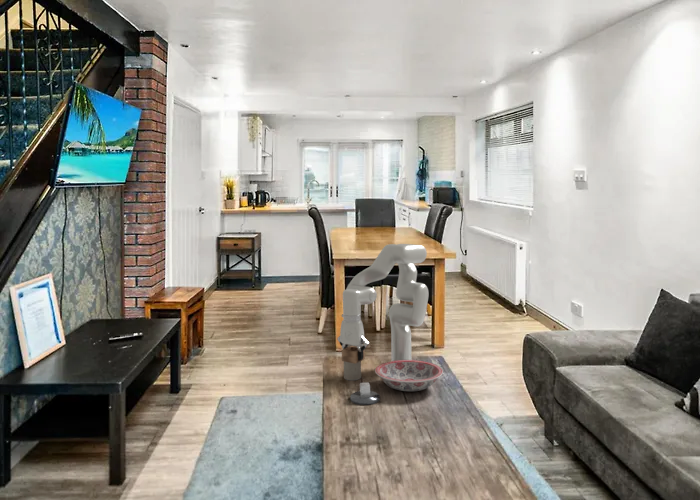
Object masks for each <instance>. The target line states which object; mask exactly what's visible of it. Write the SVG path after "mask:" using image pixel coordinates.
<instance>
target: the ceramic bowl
mask: <svg viewBox="0 0 700 500" xmlns="http://www.w3.org/2000/svg"><path fill="white" fill-rule="evenodd" d="M374 369H375V370H374V372H375V374H376V375H377V376H378V377H379V378H380V379H381V380H382V381H383V382H384V383H385V384H386V386H388V387H390V388H391V389H393V390H397V391H402V392H418V391H419V392H420V391H423V390H425V389H428V388H429V387H431V386H432V385H433V384H434V383H435V382H436V381H437V380H438V378H440V377H442V376H443V374H444V370H443V369H442V368H441V367H440V365H438V364H435V363H432V362H427V361H424V360H423V361H422V360H414V359H411V360H398V361H392V360H390V361H386V362H384V363H383V362H382V363H381V364H379V365H377V366H376V367H375V368H374Z"/></svg>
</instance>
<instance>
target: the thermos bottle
mask: <svg viewBox="0 0 700 500" xmlns="http://www.w3.org/2000/svg"><path fill="white" fill-rule="evenodd" d="M349 346H352V345H348V347H349ZM356 347H357V346H356ZM343 378H344V380H346V381H357V380H360V379H362V361H360V362H358V363H356V364H354V363H349V362H345V361H343Z"/></svg>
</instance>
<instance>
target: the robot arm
mask: <svg viewBox="0 0 700 500" xmlns="http://www.w3.org/2000/svg"><path fill="white" fill-rule="evenodd" d="M427 255H428V253H427V249H426V247H425V246H423V245H422V244H413V243H412V244H411V243H397V244H395V243H392V244H391V243H390V244H389V243H388V244H386V245H385V246H383V248H382V250H380V252H379V253H378V255H377V257H376V258H375V259H374V261H373V262H372V264H371V265H370V266H369V267H367V268H365V269H363V270H362V271H360V272H359V273H357V274H356V275H355V276H354V277H353V278H352V280H350V282H349V283H348V284H347V287H346V289H344V290H343V292H342V314H341V317H342V318H343V320H341V323H340V333H339V336H338V337H337V341H338V343H339V344H340V346H341V348H342V349H345V348H347V347H348V345H352V346H357V348H358V350H359V351H358V361H360V360H362V359H363V357H364V355H363V351H364V350H365V349H367V347H368V346H369V344H370V342H369V341H368V339H366V338H365V330H364V329H365V328H364V324H363V321H362V309H361V306H362V305H371V304H373V303H374V302H375V301H376V299H377V296H378V295H377V290H375V289H374V288H373V287H371V286H367V285H368V284H370V283H374V282H378V281H381V280H384V279H386V278H387V277H388V275H390V274H389V273H390V272H391V270H392V269H393V268H394V266H395V265H396V264H397V265H398V269H399V271H398V279H397V284H396V290H395V296H396V299H398V300H399V301H403V302H407V303H400V302H399V303H395V304H392V305H391V306H390V308H389V310H388V317H389V322H390V332H391V338H390V339H391V344H390V345H391V348H390V349H391V360H390V361H398V360H412V331H411V326H412V327H420V326H422V325H423V323H424V322H425V319H426V314H427V308H428V301H429V288H428V286H427V285H426V284H425V283H423V282H417V277H418V270H417V267H416V265H415V264H421V263H424V261H425V260H426V258H427ZM408 302H409V303H412V304H408ZM342 349H341V350H342ZM365 351H366V350H365ZM362 361H363V360H362Z"/></svg>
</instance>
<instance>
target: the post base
mask: <svg viewBox="0 0 700 500" xmlns="http://www.w3.org/2000/svg"><path fill="white" fill-rule="evenodd" d="M349 397H350V402H351V403H353V404H355V405H359V406H369V405H374V404H377V403H379V402H380V400H381V399H380V393H378V392H375V391H373V390H371V385H370V383H369V382H360V383H359V391H355V392H353V393H351V394H350V396H349Z"/></svg>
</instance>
